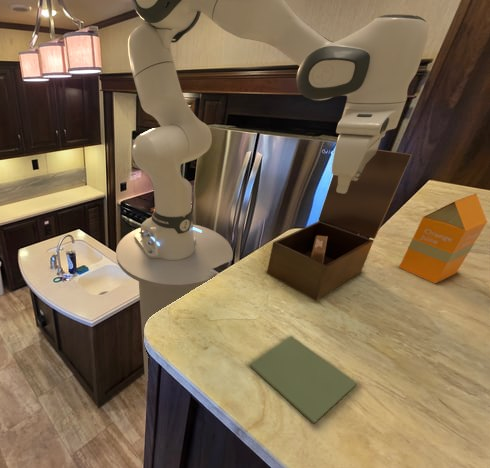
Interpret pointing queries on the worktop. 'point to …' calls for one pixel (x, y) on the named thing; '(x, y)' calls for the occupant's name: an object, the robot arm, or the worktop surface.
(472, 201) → the orange juice
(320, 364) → the mat
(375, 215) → the lid
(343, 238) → the brown open box
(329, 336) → the worktop surface
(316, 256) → the tin
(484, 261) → the worktop surface
